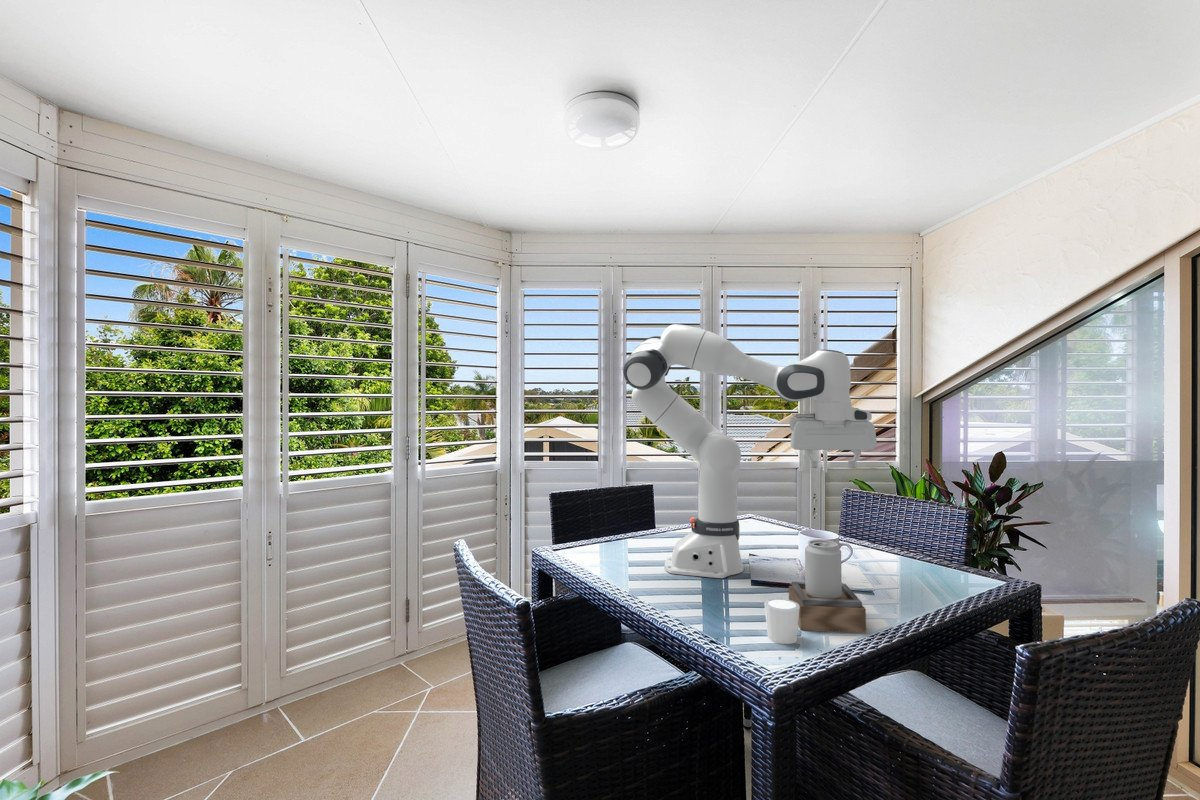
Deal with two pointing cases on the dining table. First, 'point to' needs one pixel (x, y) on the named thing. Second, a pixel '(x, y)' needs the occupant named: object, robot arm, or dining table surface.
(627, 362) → the robot arm
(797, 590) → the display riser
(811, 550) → the can
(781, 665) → the dining table surface
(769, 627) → the white cylinder
